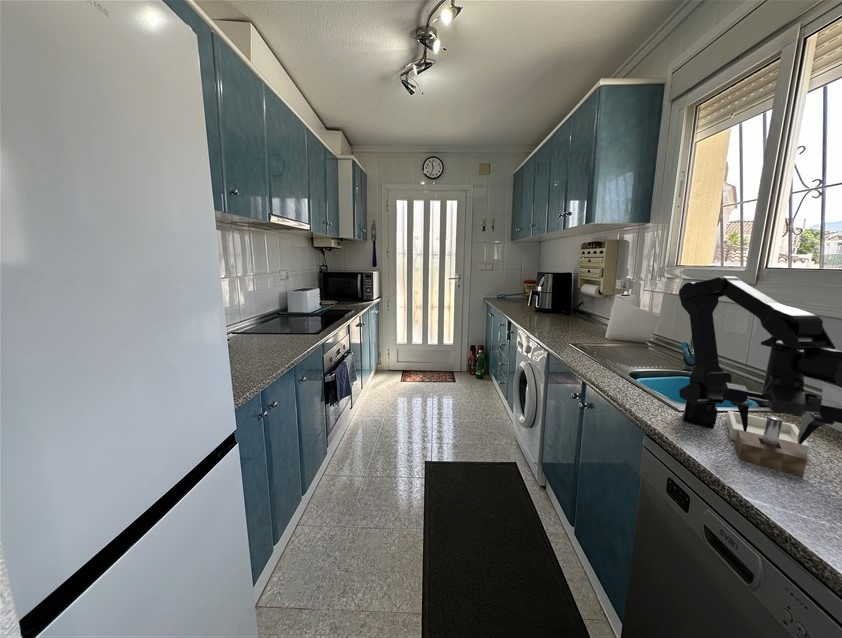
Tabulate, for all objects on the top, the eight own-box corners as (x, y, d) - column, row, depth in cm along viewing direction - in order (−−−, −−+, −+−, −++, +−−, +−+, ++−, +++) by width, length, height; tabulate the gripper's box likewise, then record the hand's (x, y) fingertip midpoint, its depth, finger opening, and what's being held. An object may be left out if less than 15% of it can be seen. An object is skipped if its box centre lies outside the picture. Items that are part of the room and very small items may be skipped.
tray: (731, 439, 86) (733, 428, 85) (726, 420, 96) (728, 410, 96) (806, 458, 78) (809, 446, 78) (792, 435, 88) (795, 424, 88)
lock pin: (759, 459, 77) (768, 418, 76) (758, 455, 79) (766, 415, 77) (774, 463, 76) (784, 422, 74) (772, 458, 78) (781, 418, 76)
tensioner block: (738, 459, 78) (742, 443, 77) (734, 444, 84) (737, 429, 83) (803, 476, 72) (807, 459, 71) (793, 459, 78) (797, 443, 77)
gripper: (731, 371, 73) (719, 438, 76) (869, 392, 62) (848, 470, 65) (726, 359, 82) (715, 419, 85) (846, 376, 71) (828, 445, 74)
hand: (771, 436), depth 77 cm, fingers open, 8 cm apart
